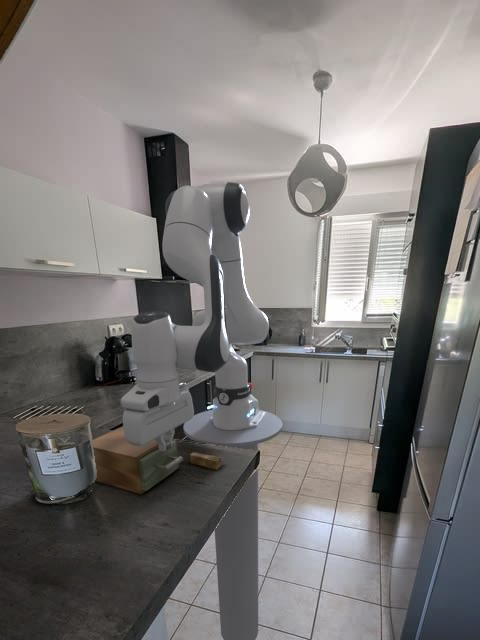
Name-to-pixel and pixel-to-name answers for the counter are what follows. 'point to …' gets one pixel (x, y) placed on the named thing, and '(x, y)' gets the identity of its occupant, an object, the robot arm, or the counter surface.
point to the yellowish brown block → (205, 460)
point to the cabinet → (120, 460)
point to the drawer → (158, 465)
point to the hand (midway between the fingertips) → (165, 448)
